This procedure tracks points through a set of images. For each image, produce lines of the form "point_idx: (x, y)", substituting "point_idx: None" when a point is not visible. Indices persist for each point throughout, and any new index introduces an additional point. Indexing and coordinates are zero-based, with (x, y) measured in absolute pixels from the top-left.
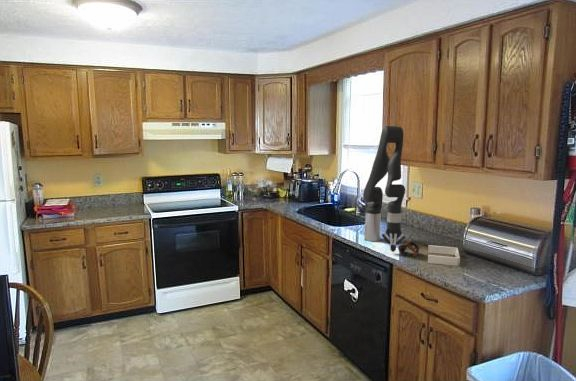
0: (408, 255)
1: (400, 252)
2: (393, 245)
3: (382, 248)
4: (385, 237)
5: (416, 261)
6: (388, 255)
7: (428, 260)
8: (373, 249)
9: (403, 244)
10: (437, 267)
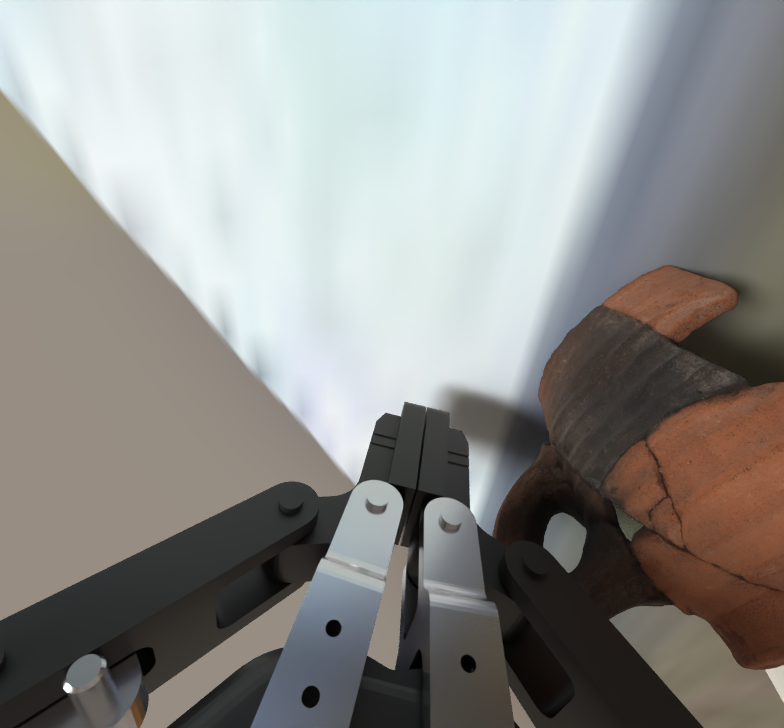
0: None
1: (545, 418)
2: (407, 544)
3: (244, 58)
4: (148, 686)
5: (646, 614)
6: (356, 452)
7: (780, 688)
8: (100, 175)
9: (661, 518)
10: (774, 721)
